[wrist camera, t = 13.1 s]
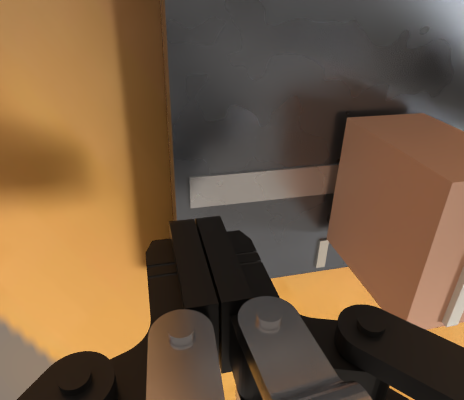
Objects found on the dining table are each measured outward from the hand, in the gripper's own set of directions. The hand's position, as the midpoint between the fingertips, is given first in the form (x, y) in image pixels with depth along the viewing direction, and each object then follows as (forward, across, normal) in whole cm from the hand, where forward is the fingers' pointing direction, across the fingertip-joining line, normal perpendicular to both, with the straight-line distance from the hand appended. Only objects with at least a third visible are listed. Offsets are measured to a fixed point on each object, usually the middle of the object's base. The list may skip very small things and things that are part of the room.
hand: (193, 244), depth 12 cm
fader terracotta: (+2, -7, 0) cm, 7 cm away
